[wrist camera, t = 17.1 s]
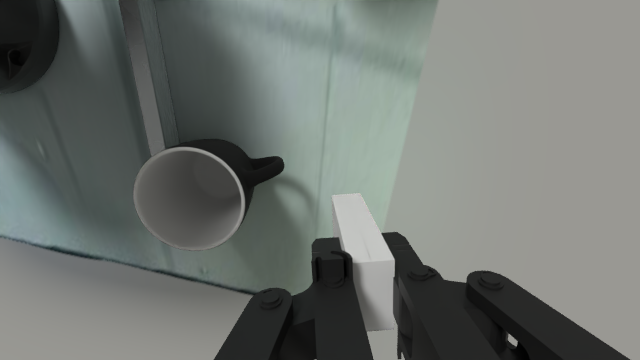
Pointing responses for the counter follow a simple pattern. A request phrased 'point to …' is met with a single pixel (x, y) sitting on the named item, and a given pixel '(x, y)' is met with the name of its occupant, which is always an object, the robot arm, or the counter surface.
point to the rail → (150, 73)
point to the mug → (199, 192)
